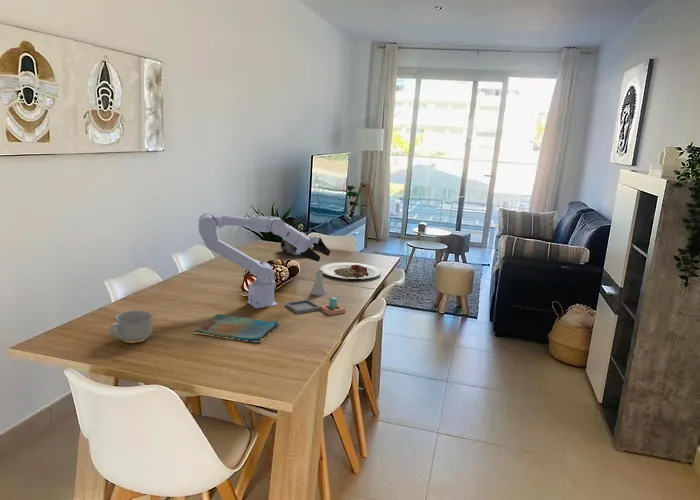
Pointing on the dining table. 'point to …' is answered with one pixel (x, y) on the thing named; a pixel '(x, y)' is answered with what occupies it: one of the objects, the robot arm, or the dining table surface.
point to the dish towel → (237, 327)
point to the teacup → (132, 325)
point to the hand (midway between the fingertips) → (324, 256)
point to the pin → (332, 303)
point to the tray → (302, 306)
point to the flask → (319, 285)
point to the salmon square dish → (332, 312)
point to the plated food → (349, 270)
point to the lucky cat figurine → (289, 247)
